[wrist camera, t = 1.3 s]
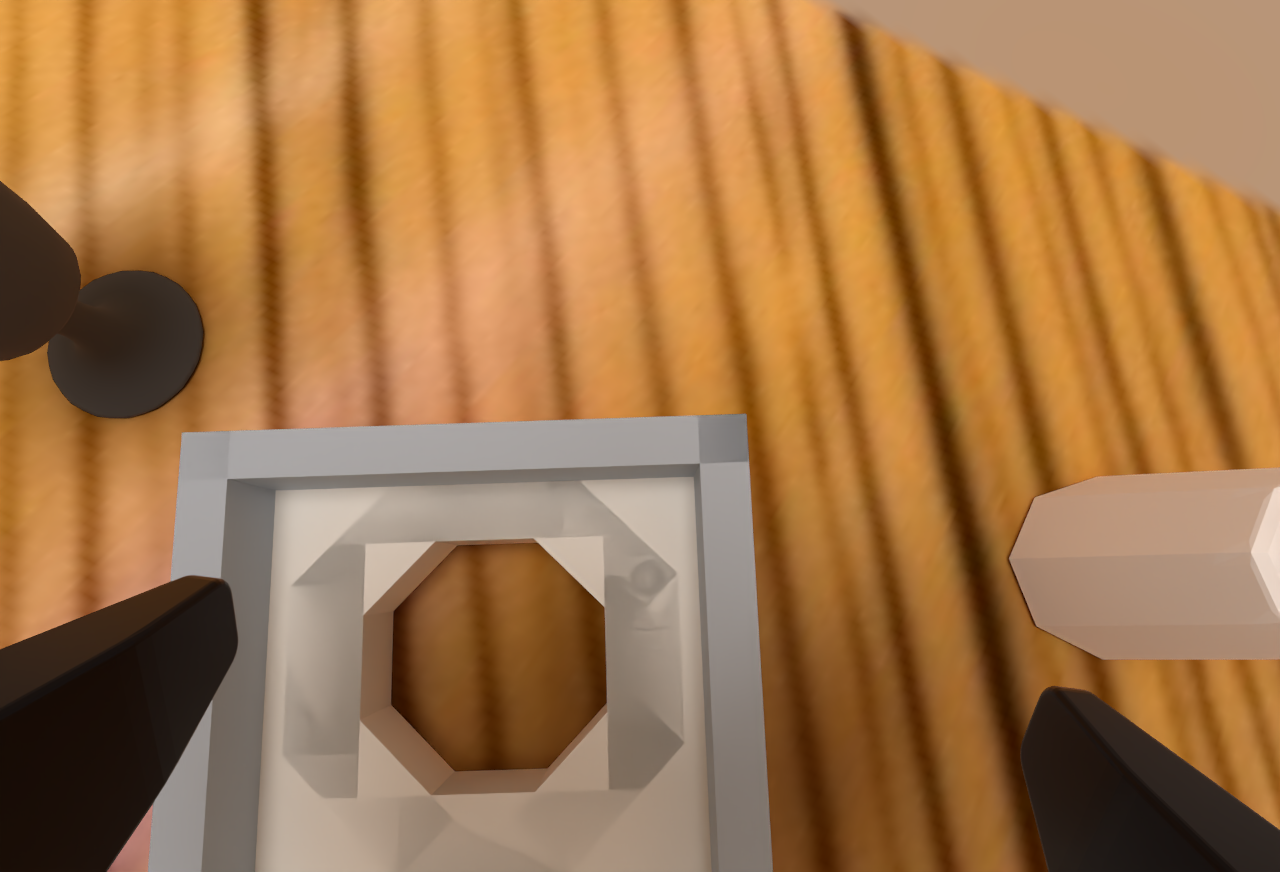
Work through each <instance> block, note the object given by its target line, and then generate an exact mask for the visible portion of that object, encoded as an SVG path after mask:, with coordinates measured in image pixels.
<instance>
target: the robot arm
mask: <svg viewBox="0 0 1280 872" xmlns="http://www.w3.org/2000/svg"><path fill="white" fill-rule="evenodd" d="M237 648H238V631H237V624H236V617H235V610H234V603H233V596H232V591H231V587H230V586H229V584H228V583H227V582H226V581H225V580H223V579H220V578H213V577H205V576H198V575H188V576H184V577H181V578H179V579H176V580H174V581H171V582H169V583H166V584H164V585H161V586H159V587H156V588H154V589H151V590H149V591H146V592H144V593H141V594H139V595H136V596H134V597H131V598H129V599H126V600H123V601H121V602H118V603H116V604H113V605H111V606H108V607H106V608H103V609H101V610H98V611H96V612H93V613H91V614H88V615H86V616H83V617H81V618H78V619H76V620H73V621H71V622H68V623H66V624H63V625H61V626H58V627H56V628H53V629H51V630H48V631H46V632H43V633H41V634H38V635H36V636H33V637H31V638H28V639H26V640H23V641H21V642H18V643H15V644H13V645H10V646H8V647H5V648H3V649H0V872H107V870H108V869H109V867H110V866H111V864H112V863H113V861H114V860H115V859H116V857H117V856H118V854H119V853H120V851H121V850H122V848H123V847H124V845H125V844H126V842H127V841H128V839H129V838H130V837H131V835H132V834H133V832H134V831H135V829H136V828H137V826H138V825H139V823H140V822H141V820H142V819H143V817H144V816H145V814H146V813H147V812H148V810H149V809H150V807H151V806H152V804H153V803H154V801H155V799H156V798H157V796H158V795H159V793H160V792H161V790H162V789H163V787H164V786H165V784H166V782H167V781H168V779H169V777H170V775H171V774H172V772H173V770H174V769H175V767H176V765H177V764H178V762H179V760H180V758H181V756H182V754H183V753H184V751H185V749H186V747H187V745H188V743H189V742H190V740H191V738H192V736H193V734H194V732H195V731H196V729H197V727H198V725H199V723H200V721H201V720H202V718H203V716H204V714H205V712H206V710H207V709H208V707H209V705H210V703H211V701H212V699H213V698H214V696H215V694H216V692H217V690H218V688H219V687H220V685H221V683H222V681H223V679H224V677H225V676H226V674H227V672H228V670H229V668H230V666H231V665H232V663H233V660H234V658H235V655H236V653H237ZM1021 764H1022V769H1023V773H1024V777H1025V781H1026V785H1027V789H1028V793H1029V797H1030V801H1031V805H1032V809H1033V813H1034V817H1035V820H1036V824H1037V828H1038V832H1039V836H1040V840H1041V844H1042V848H1043V852H1044V856H1045V860H1046V864H1047V868H1048V872H1280V830H1279V829H1278V828H1276V827H1275V826H1274V825H1272V824H1271V823H1270V822H1268V821H1267V820H1265V819H1264V818H1263V817H1261V816H1260V815H1259V814H1257V813H1256V812H1254V811H1253V810H1252V809H1250V808H1249V807H1248V806H1246V805H1245V804H1243V803H1242V802H1241V801H1239V800H1238V799H1237V798H1235V797H1234V796H1232V795H1231V794H1230V793H1228V792H1227V791H1226V790H1224V789H1223V788H1222V787H1220V786H1219V785H1217V784H1216V783H1215V782H1213V781H1212V780H1211V779H1209V778H1208V777H1206V776H1205V775H1204V774H1202V773H1201V772H1200V771H1198V770H1197V769H1195V768H1194V767H1193V766H1191V765H1190V764H1189V763H1187V762H1186V761H1184V760H1183V759H1182V758H1180V757H1179V756H1178V755H1176V754H1175V753H1174V752H1172V751H1171V750H1169V749H1168V748H1167V747H1165V746H1164V745H1163V744H1161V743H1160V742H1158V741H1157V740H1156V739H1154V738H1153V737H1152V736H1150V735H1149V734H1147V733H1146V732H1145V731H1143V730H1142V729H1141V728H1139V727H1138V726H1136V725H1135V724H1134V723H1132V722H1131V721H1130V720H1128V719H1127V718H1126V717H1124V716H1123V715H1121V714H1120V713H1119V712H1117V711H1116V710H1115V709H1113V708H1112V707H1110V706H1109V705H1108V704H1106V703H1105V702H1104V701H1102V700H1101V699H1099V698H1098V697H1097V696H1095V695H1094V694H1092V693H1091V692H1089V691H1086V690H1081V689H1074V688H1066V687H1058V686H1051V687H1048V688H1046V689H1045V690H1044V691H1043V692H1042V694H1041V696H1040V697H1039V700H1038V702H1037V705H1036V707H1035V710H1034V713H1033V715H1032V718H1031V720H1030V723H1029V725H1028V728H1027V730H1026V733H1025V735H1024V738H1023V741H1022V745H1021Z"/></svg>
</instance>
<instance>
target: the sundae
mask: <svg viewBox="0 0 1280 872" xmlns="http://www.w3.org/2000/svg"><path fill="white" fill-rule="evenodd" d="M80 283H81V274H80V270H79V266H78V261H77V257H76V255H75V253H74V251H73V249H72V248H71V247H70V245H69V244H68V243H67V242H66V241H65V240H64V239H63V238H62V237H61V236H60V235H59V234H58V233H57V232H56V231H55V230H54V229H53V228H52V227H51V226H50V225H49V224H48V223H47V222H46V221H45V220H44V219H43V218H42V217H41V216H40V215H39V214H38V213H37V212H36V211H35V210H34V209H33V208H32V207H31V206H30V205H29V204H28V203H27V202H26V201H24V200H23V199H22V198H21V197H19V196H18V195H17V194H16V193H14V192H13V191H12V190H11V189H9V188H8V187H7V186H6V185H5V184H3V183H2V182H1V181H0V361H3V360H10V359H13V358H16V357H19V356H23V355H26V354H29V353H31V352H33V351H35V350H37V349H38V348H40V347H41V346H43V345H44V344H45V343H46V342H48V341H49V345H48V352H47V354H48V361H49V367H50V371H51V374H52V378H53V380H54V382H55V383H56V385H57V386H58V388H59V389H60V391H61V392H62V394H63V395H64V396H65V397H66V398H67V399H68V400H69V401H70V403H71V404H73V405H75V406H76V407H78V408H80V409H81V410H83V411H85V412H88V413H90V414H92V415H95V416H97V417H106V418H130V417H134V416H137V415H141V414H144V413H147V412H149V411H152V410H154V409H157V408H158V407H160V406H161V405H163V404H164V403H165V402H167V401H168V400H170V399H171V398H172V397H173V396H174V395H175V394H176V393H178V392H179V391H180V390H181V389H182V388H183V387H184V385H185V384H186V382H187V381H188V379H189V378H190V376H191V375H192V373H193V371H194V369H195V367H196V365H197V363H198V361H199V357H200V353H201V348H202V340H203V328H202V323H201V318H200V315H199V312H198V309H197V306H196V304H195V303H194V301H193V300H192V299H191V297H190V296H189V294H188V293H187V292H186V291H185V290H184V289H183V288H182V287H181V286H180V285H179V284H177V283H176V282H174V281H172V280H170V279H169V278H167V277H164V276H162V275H159V274H157V273H154V272H147V271H120V272H116V273H112V274H108V275H106V276H103V277H101V278H98V279H95V280H93V281H92V282H90V283H89V284H88V285H86V286H85V287H83V288H82V289H81V290H80ZM79 290H80V291H79Z"/></svg>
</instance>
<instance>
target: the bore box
mask: <svg viewBox="0 0 1280 872" xmlns="http://www.w3.org/2000/svg"><path fill="white" fill-rule="evenodd" d="M514 543H539V544H540V545H541V546H542V547H543V548H544V549H545V550H546V551H547V552H548V553H549V554H550V555H551V556H552V557H553V558H554V559H555V560H556V561H557V562H558V563H559V564H561V565H562V566H563V567H564V568H565V569H566V570H567V571H568V572H569V573H570V574H571V575H572V576H573V577H574V578H575V579H576V580H577V581H578V582H579V583H580V584H581V585H582V586H583V587H584V588H585V589H586V590H587V591H588V592H589V593H590V594H592V595H593V596H594V597H595V598H596V599H597V600H598V601H599V602H600V603H601V604H602V605H603V606H604V607H605V639H606V682H607V703H606V704H605V705H604V707H603V708H602V709H601V710H600V711H599V712H598V713H597V714H596V715H595V717H594V718H593V719H592V720H591V721H590V722H589V723H588V724H587V725H586V726H585V728H584V729H583V730H582V731H581V732H580V733H579V734H578V735H577V736H576V738H575V739H574V740H573V741H572V742H571V743H570V744H569V745H568V746H567V747H566V749H565V750H564V751H563V752H562V753H561V754H560V755H559V756H558V757H557V759H556V760H555V761H554V762H553V763H552V764H551V765H550V766H549V767H548V768H545V769H514V770H482V771H454V770H453V769H452V768H451V767H450V766H449V765H448V764H447V763H446V762H445V761H444V760H443V758H442V757H441V756H440V755H439V754H438V753H437V752H436V751H435V750H434V749H433V748H432V747H431V746H430V745H429V744H428V743H427V742H426V741H425V740H424V739H423V738H422V737H421V735H420V734H419V733H418V732H417V731H416V730H415V729H414V728H413V727H412V726H411V725H410V724H409V723H408V722H407V721H406V720H405V719H404V718H403V717H402V716H401V715H400V714H399V713H398V711H397V710H396V709H395V708H394V707H393V706H392V705H391V689H392V650H393V611H394V610H395V609H396V608H397V607H398V606H399V605H400V604H401V603H402V602H403V601H404V600H405V599H406V598H407V597H408V596H409V595H410V594H411V593H412V592H413V591H414V590H415V589H416V587H417V586H418V585H419V584H420V583H421V582H422V581H423V580H424V579H425V578H426V577H427V576H428V575H429V574H430V573H431V572H432V571H433V570H434V569H435V568H436V567H437V566H438V565H439V564H440V563H441V562H442V561H443V560H444V559H445V558H446V557H447V556H448V554H449V553H450V552H451V551H452V550H453V549H454V548H455V547H456V546H457V545H483V544H514ZM188 575H198V576H205V577H213V578H220V579H223V580H225V581H226V582H227V583H228V584H229V586H230V587H231V591H232V596H233V603H234V610H235V617H236V624H237V631H238V648H237V653H236V655H235V658H234V660H233V663H232V665H231V666H230V668H229V670H228V672H227V674H226V676H225V677H224V679H223V681H222V683H221V685H220V687H219V688H218V690H217V692H216V694H215V696H214V698H213V699H212V701H211V703H210V705H209V707H208V709H207V710H206V712H205V714H204V716H203V718H202V720H201V721H200V723H199V725H198V727H197V729H196V731H195V732H194V734H193V736H192V738H191V740H190V742H189V743H188V745H187V747H186V749H185V751H184V753H183V754H182V756H181V758H180V760H179V762H178V764H177V765H176V767H175V769H174V770H173V772H172V774H171V775H170V777H169V779H168V781H167V782H166V784H165V786H164V787H163V789H162V790H161V792H160V793H159V795H158V796H157V798H156V799H155V801H154V803H153V813H152V826H151V839H150V851H149V864H148V872H773V864H772V847H771V829H770V812H769V795H768V778H767V761H766V744H765V727H764V710H763V693H762V676H761V659H760V641H759V624H758V607H757V590H756V573H755V556H754V539H753V522H752V505H751V488H750V471H749V454H748V436H747V419H746V414H728V415H697V416H667V417H637V418H607V419H577V420H547V421H517V422H487V423H457V424H427V425H397V426H367V427H337V428H306V429H276V430H246V431H216V432H186V433H182V441H181V453H180V466H179V479H178V492H177V505H176V518H175V530H174V543H173V556H172V569H171V581H174V580H176V579H179V578H181V577H184V576H188Z"/></svg>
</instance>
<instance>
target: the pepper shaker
mask: <svg viewBox="0 0 1280 872" xmlns="http://www.w3.org/2000/svg"><path fill="white" fill-rule="evenodd" d="M1009 560H1010V563H1011V565H1012V568H1013V570H1014V573H1015V575H1016V577H1017V580H1018V582H1019V585H1020V587H1021V590H1022V592H1023V595H1024V597H1025V600H1026V602H1027V605H1028V607H1029V609H1030V612H1031V614H1032V617H1033V619H1034V622H1035V624H1036V626H1037V627H1039V628H1041V629H1043V630H1045V631H1047V632H1049V633H1051V634H1053V635H1055V636H1057V637H1059V638H1061V639H1063V640H1065V641H1067V642H1069V643H1071V644H1073V645H1075V646H1077V647H1079V648H1081V649H1083V650H1085V651H1087V652H1089V653H1091V654H1093V655H1095V656H1097V657H1099V658H1101V659H1103V660H1145V659H1280V468H1262V469H1242V470H1221V471H1201V472H1180V473H1159V474H1139V475H1118V476H1098V477H1095V478H1092V479H1089V480H1086V481H1083V482H1080V483H1077V484H1074V485H1071V486H1068V487H1065V488H1062V489H1059V490H1056V491H1053V492H1050V493H1047V494H1044V495H1040V496H1037V497H1035V498H1034V500H1033V503H1032V505H1031V507H1030V510H1029V512H1028V515H1027V517H1026V519H1025V522H1024V524H1023V526H1022V529H1021V531H1020V534H1019V536H1018V538H1017V541H1016V543H1015V545H1014V548H1013V550H1012V553H1011V555H1010V557H1009Z"/></svg>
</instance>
